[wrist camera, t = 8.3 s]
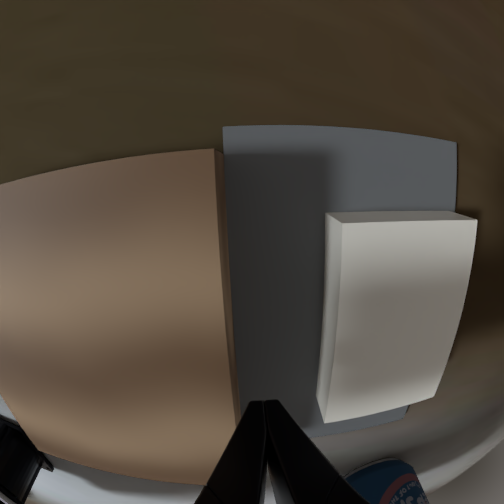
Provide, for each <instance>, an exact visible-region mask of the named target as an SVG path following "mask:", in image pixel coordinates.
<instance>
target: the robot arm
mask: <svg viewBox="0 0 504 504" xmlns="http://www.w3.org/2000/svg"><path fill="white" fill-rule="evenodd" d="M267 464H268V470H269V474H270V479H271V483H272V487H273V491H274V496H275V500H276V504H371V503H369V502H368V501H367V500H366V499H365V498H363V497H362V496H361V495H360V494H359V493H358V492H357V491H356V490H355V489H354V488H353V487H352V486H351V485H350V484H349V483H348V482H347V481H346V480H345V479H344V477H343V476H342V475H339V474H340V473H339V472H338V471H337V470H336V469H335V468H334V466H333V465H332V464H331V463H330V462H329V461H328V459H327V458H326V457H325V456H324V455H323V454H322V452H321V451H320V450H319V449H318V448H317V447H316V445H315V444H314V443H313V442H312V441H311V439H310V438H309V437H308V436H307V435H306V433H305V432H304V431H303V430H302V428H301V427H300V426H299V425H298V424H297V422H296V421H295V420H294V419H293V417H292V416H291V415H290V414H289V412H288V411H287V410H286V408H285V407H284V406H283V405H282V403H281V402H280V401H279V400H278V399H271V400H265V401H263V400H253V401H250V402H249V403H248V405H247V407H246V409H245V411H244V413H243V415H242V417H241V419H240V421H239V423H238V425H237V427H236V429H235V431H234V433H233V435H232V437H231V438H230V440H229V442H228V444H227V446H226V448H225V450H224V452H223V454H222V456H221V457H220V459H219V461H218V463H217V465H216V467H215V468H214V470H213V472H212V474H211V476H210V478H209V479H208V481H207V483H206V485H207V486H204V488H203V490H202V491H201V493H200V495H199V496H198V498H197V500H196V501H195V503H194V504H264V499H265V487H266V474H267ZM41 468H43V469H46V470H48V471H51V472H53V470H54V467H53V466H52V465H51V464H50V463H49V462H48V460H47V459H46V458H45V457H44V455H43V454H42V453H41V452H40V451H39V450H38V449H37V448H36V446H35V445H34V444H33V442H32V441H31V440H30V438H29V437H28V436H27V434H26V433H25V431H24V430H23V429H22V428H20V427H18V426H16V425H13V424H11V423H9V422H6V421H4V420H2V419H0V497H1V498H2V499H3V500H5V501H6V502H7V503H8V504H24V503H25V501H26V499H27V497H28V494H29V492H30V490H31V488H32V486H33V484H34V481H35V479H36V477H37V475H38V473H39V471H40V469H41ZM0 504H5V503H3V502H2V501H1V500H0Z"/></svg>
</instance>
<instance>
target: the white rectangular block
mask: <svg viewBox="0 0 504 504" xmlns="http://www.w3.org/2000/svg"><path fill="white" fill-rule="evenodd" d="M476 230H477V220H476V219H473V218H470V217H467V216H464V215H461V214H458V213H454V212H451V211H368V212H333V213H325V270H324V297H323V316H322V332H321V346H320V359H319V370H318V380H317V390H316V397H317V401H318V404H319V407H320V411H321V414H322V418H323V421H324V424H325V423H331V422H337V421H342V420H347V419H352V418H357V417H362V416H367V415H371V414H375V413H379V412H383V411H387V410H391V409H395V408H399V407H402V406H406V405H409V404H412V403H416V402H419V401H422V400H425V399H428V398H431V397H434V395H435V392H436V390H437V387H438V385H439V382H440V380H441V377H442V374H443V372H444V369H445V366H446V363H447V361H448V358H449V355H450V352H451V349H452V345H453V342H454V339H455V336H456V332H457V329H458V325H459V321H460V318H461V314H462V310H463V306H464V301H465V297H466V293H467V288H468V283H469V278H470V272H471V267H472V261H473V254H474V247H475V239H476Z"/></svg>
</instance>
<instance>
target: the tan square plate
mask: <svg viewBox="0 0 504 504" xmlns="http://www.w3.org/2000/svg"><path fill="white" fill-rule="evenodd" d="M0 394H1V396H2V397H3V399H4V401H5V403H6V404H7V406H8V407H9V409H10V411H11V412H12V414H13V415H14V417H15V418H16V420H17V421H18V423H19V424H20V426H21V427H22V429H23V430H24V431H25V433H26V434H27V436H28V437H29V438H30V440H31V441H32V442H33V444H34V445H35V446H36V448H37V449H38V450H39V451H42V452H44V453H47V454H50V455H52V456H55V457H58V458H61V459H64V460H67V461H70V462H74V463H77V464H80V465H84V466H87V467H91V468H95V469H99V470H103V471H107V472H111V473H116V474H121V475H126V476H131V477H136V478H142V479H149V480H156V481H163V482H172V483H182V484H195V485H206V483H207V481H208V479H209V478H210V476H211V474H212V472H213V470H214V468H215V467H216V465H217V463H218V461H219V459H220V457H221V456H222V454H223V452H224V450H225V448H226V446H227V444H228V442H229V440H230V438H231V437H232V435H233V433H234V431H235V429H236V427H237V425H238V423H239V421H240V419H241V410H240V399H239V388H238V377H237V365H236V352H235V340H234V326H233V313H232V298H231V283H230V268H229V251H228V234H227V215H226V195H225V174H224V154H222V153H221V152H219V151H217V150H216V149H200V150H188V151H177V152H167V153H158V154H150V155H142V156H134V157H127V158H121V159H114V160H108V161H102V162H96V163H91V164H85V165H80V166H75V167H70V168H65V169H61V170H56V171H51V172H47V173H43V174H39V175H35V176H31V177H27V178H23V179H19V180H15V181H12V182H8V183H5V184H1V185H0Z"/></svg>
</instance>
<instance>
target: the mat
mask: <svg viewBox="0 0 504 504" xmlns="http://www.w3.org/2000/svg"><path fill="white" fill-rule="evenodd" d="M223 149H224V174H225V195H226V215H227V234H228V251H229V268H230V283H231V298H232V313H233V326H234V340H235V352H236V365H237V377H238V388H239V399H240V410H241V417H242V415H243V413H244V411H245V409H246V407H247V405H248V403H249V402H250V401H253V400H263V401H265V400H271V399H278V400H279V401H280V402H281V403H282V405H283V406H284V407H285V408H286V410H287V411H288V412H289V414H290V415H291V416H292V417H293V419H294V420H295V421H296V422H297V424H298V425H299V426H300V427H301V428H302V430H303V431H304V432H305V433H306V435H307V436H308V437H309V438H312V437H319V436H326V435H332V434H338V433H344V432H349V431H354V430H359V429H364V428H368V427H373V426H377V425H381V424H385V423H389V422H393V421H397V420H400V419H403V417H404V415H405V413H406V410H407V408H408V406H409V405H406V406H402V407H399V408H395V409H391V410H387V411H383V412H379V413H375V414H371V415H367V416H362V417H357V418H352V419H347V420H342V421H337V422H331V423H325V424H324V421H323V418H322V414H321V411H320V407H319V404H318V401H317V397H316V390H317V380H318V370H319V359H320V346H321V332H322V316H323V297H324V270H325V213H333V212H368V211H451V212H454V213H455V202H456V180H457V145H456V142H451V141H446V140H441V139H435V138H430V137H424V136H417V135H411V134H404V133H396V132H388V131H379V130H370V129H359V128H346V127H330V126H305V125H254V126H229V127H223Z"/></svg>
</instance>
